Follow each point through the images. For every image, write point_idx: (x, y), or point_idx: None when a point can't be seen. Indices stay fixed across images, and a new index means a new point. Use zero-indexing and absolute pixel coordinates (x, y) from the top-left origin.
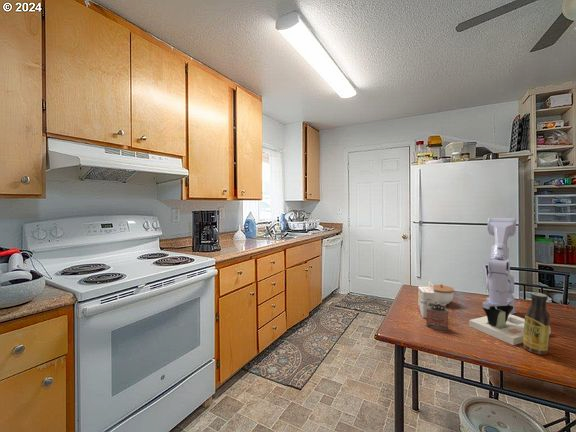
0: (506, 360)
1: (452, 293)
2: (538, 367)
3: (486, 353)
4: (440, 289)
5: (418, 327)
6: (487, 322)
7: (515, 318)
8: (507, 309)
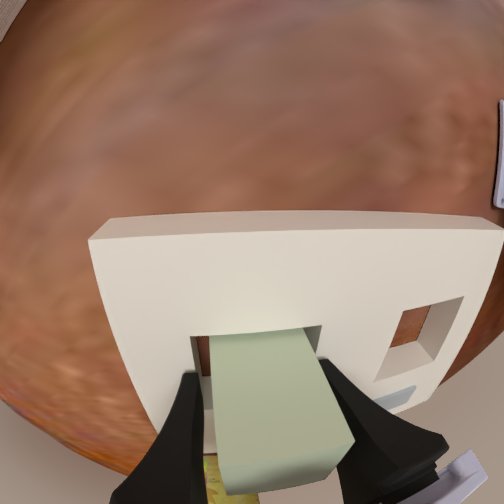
0: (67, 435)
1: None
2: (129, 465)
3: (30, 404)
4: None
5: None
6: (210, 344)
7: (458, 316)
8: (348, 491)
